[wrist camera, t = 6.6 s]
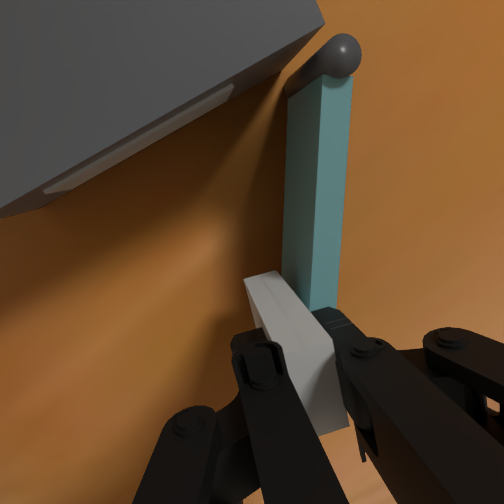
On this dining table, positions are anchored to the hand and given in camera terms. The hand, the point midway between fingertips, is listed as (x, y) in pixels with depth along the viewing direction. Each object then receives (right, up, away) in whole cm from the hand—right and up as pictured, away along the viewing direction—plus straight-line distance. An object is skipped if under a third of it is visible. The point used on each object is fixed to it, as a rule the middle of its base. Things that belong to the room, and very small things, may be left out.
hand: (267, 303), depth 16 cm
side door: (+2, +4, +2) cm, 4 cm away
